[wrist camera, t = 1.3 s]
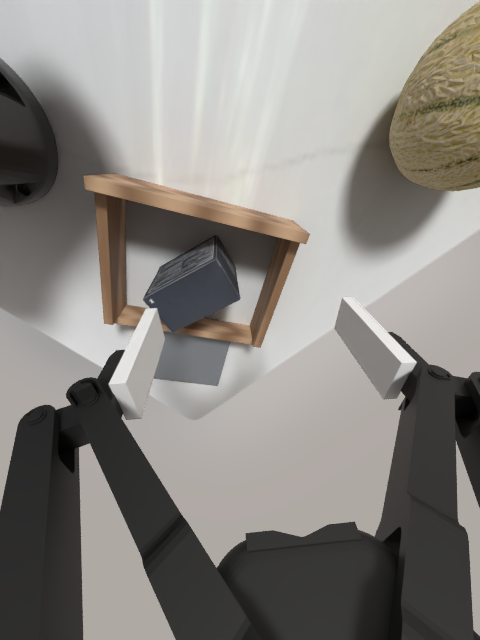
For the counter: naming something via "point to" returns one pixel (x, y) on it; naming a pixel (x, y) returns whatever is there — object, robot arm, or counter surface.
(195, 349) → the mat
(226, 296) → the small box
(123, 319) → the open wooden tray
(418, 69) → the cantaloupe
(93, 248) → the counter surface
